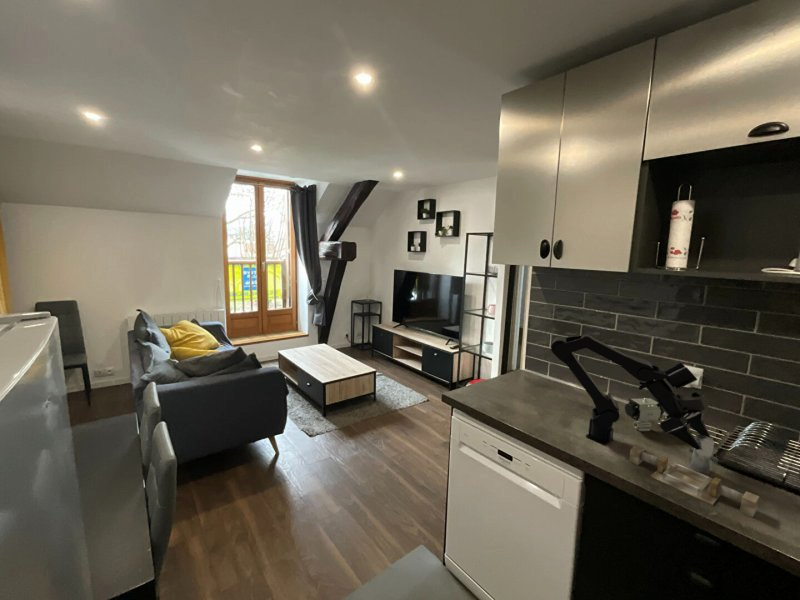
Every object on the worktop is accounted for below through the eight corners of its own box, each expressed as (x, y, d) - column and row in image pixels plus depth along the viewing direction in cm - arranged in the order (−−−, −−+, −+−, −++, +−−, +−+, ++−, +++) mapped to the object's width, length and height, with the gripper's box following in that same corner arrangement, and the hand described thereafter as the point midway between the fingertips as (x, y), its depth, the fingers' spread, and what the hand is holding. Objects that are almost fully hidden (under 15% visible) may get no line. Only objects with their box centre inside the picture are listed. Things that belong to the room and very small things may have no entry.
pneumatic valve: (622, 426, 132) (625, 396, 130) (652, 425, 133) (655, 395, 131) (632, 434, 127) (636, 402, 125) (663, 433, 128) (668, 401, 126)
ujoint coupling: (685, 467, 108) (689, 436, 107) (690, 462, 111) (694, 432, 109) (713, 479, 103) (717, 447, 101) (717, 473, 105) (722, 442, 104)
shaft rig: (624, 464, 109) (626, 451, 109) (639, 453, 115) (640, 441, 114) (749, 522, 87) (752, 506, 86) (759, 505, 92) (762, 490, 91)
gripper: (677, 391, 102) (722, 444, 95) (699, 378, 113) (741, 425, 105) (643, 407, 110) (682, 457, 102) (667, 393, 120) (704, 438, 113)
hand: (704, 444), depth 106 cm, fingers open, 9 cm apart
